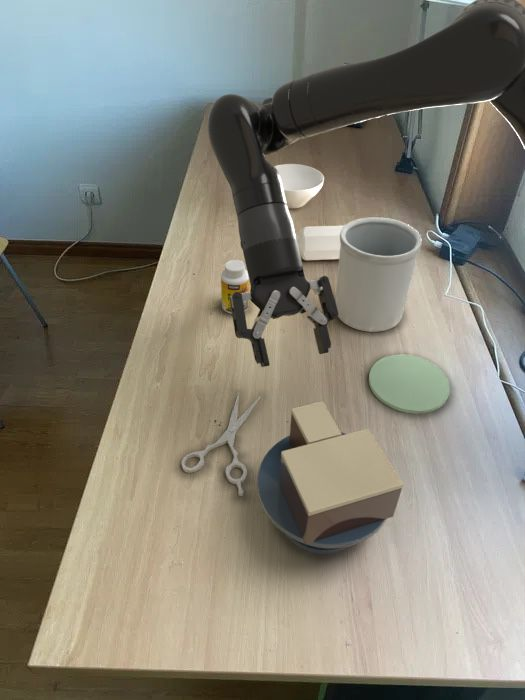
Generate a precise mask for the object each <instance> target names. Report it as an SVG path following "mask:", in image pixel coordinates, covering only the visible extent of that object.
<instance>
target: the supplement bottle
mask: <svg viewBox="0 0 525 700" xmlns="http://www.w3.org/2000/svg"><path fill="white" fill-rule="evenodd" d="M220 290H221V291H220V293H221V308H222V310H223V311H224V312H226V313H228V314H230V315H232V311H231V304H230V297H231V296H232V295H233V294H234V293H235V292H240V293H248V292H250V281H249V276H248V272H247V269H246V263H245V261H242V260H239V259H231V260H228V261H226V262H225V263H224V270H222V272H221V273H220ZM249 306H250V300H249V301H248V306H247V307H246V308H245V309H244V312H245V313H246V312H247V310H248V309H249Z"/></svg>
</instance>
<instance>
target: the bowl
mask: <svg viewBox="0 0 525 700" xmlns="http://www.w3.org/2000/svg"><path fill="white" fill-rule="evenodd" d="M273 166H274V167H275V168H276V169H277V171H278V172H279V175H280V177H281V181H282V185H283V189H284V193H285V198H286V202H287V207H288V209H299V208H302V207H304V206H305V205H306V204H307V203H308V202H309V201H311V199H312V198H314V197H315V196H316V195H317V194H318V193H319V192H320V191H321V190H322V188H323V185H324V181H325V176H324V174H323V173H322V172H321V171H320V170H318V169H317V168H314V167H312V166H309V165H306V164H300V163H298V164H297V163H284V164H277V165H273Z"/></svg>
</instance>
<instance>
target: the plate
mask: <svg viewBox="0 0 525 700" xmlns="http://www.w3.org/2000/svg"><path fill="white" fill-rule="evenodd" d="M450 384H451V383H450V380H449V379H448V377H447V375H446V373H444V371H443V370H442V369H441V368H440V367H439V366H437V365H436V364H434V363H433V362H432V361H430V360H427V359H426V358H424V357H423V358H422V357H420V356H417V355H413V354H404V353H400V354H399V353H398V354H396V353H395V354H391V355H387V356H384V357H382V358H380V359H378V360H377V361H376V362H374V363H373V364H372V365H371V368H370V370H369V373H368V386H369V388H370V390H371V392H372V393H373V395H374V397H375V398H377V400H378V401H380V402H381V403H382V404H383V405H386V406H387V407H388V408H390V409H392V410H395V411H398V412H402V413H405V414H415V415H419V414H420V415H421V414H427V413H431V412H434V411H436V410H438V409H440V408H441V407H442V406H443V405H444V404H445V403H446V402H447V401H448V398H449V395H450V391H451V386H450Z"/></svg>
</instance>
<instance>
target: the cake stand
mask: <svg viewBox="0 0 525 700" xmlns="http://www.w3.org/2000/svg"><path fill="white" fill-rule="evenodd" d="M340 432H341V436H338V437H334V438H330V439H327V440H323V441H319V442H315V443H312V444H308V445H304V446H300V447H296V448H293V449H292V447H291V445H290V443H289V438H290V435H288V436H286V437H284V438H282V439H280V440H279V441H277V443H275V444H274V445H273V446H272V447H271V448H269V450H268V451H267V453H266V454H265V455H264V457H263V458H262V461H261V462H260V466H259V469H258V473H257V494H258V499H259V502H260V506H261V507H262V509H263V511H264V513H265V514H266V516H267V518H268V519H269V520H270V521H271V522H272V524H273V525H274V526H275V527H276V528H277V529H278V530H280V531H281V533H283V534H284V535H285V536H286V538H287V539H288V540H289V541H290V542H291V543H292V544H294V545H295V546H297V548H299V549H301V550H304V551H306V552H308V553H312V554H317V555H331V554H335V553H340V552H342V551H344V550H346V549H348V548H349V547H351V546H355V545H358V544H361V543H363V542H365V541H367V540H368V539H370V538H371V537H373V536H374V535H375V534H377V533H378V532H379V531H380V530H381V528H383V526H384V525H385V524H386V522H387V521H388V519H390V518H393V517H394V515H395V512H396V509H397V506H398V502H399V499H400V496H401V493H402V490H403V487H404V483H403V482H402V479H401V478H400V476H399V475H398V473H397V471H396V470H395V469H394V468H395V467H393V465H392V464H391V462H390V460H389V459H388V457H387V456H386V453H385V452H384V450H383V449H382V447H381V446H380V444H379V442H378V441H377V440H376V438H375V436H374V434H373V433H372V431H371V430H370V428H365V429H361V430H358V431H353V432H350V433H345V432H342V431H340Z"/></svg>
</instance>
